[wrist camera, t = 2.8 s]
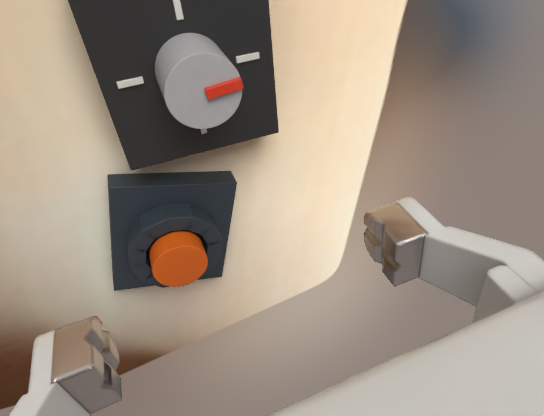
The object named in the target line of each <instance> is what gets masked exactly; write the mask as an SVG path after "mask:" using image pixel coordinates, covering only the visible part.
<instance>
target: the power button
mask: <svg viewBox="0 0 544 416" xmlns="http://www.w3.org/2000/svg"><path fill="white" fill-rule="evenodd" d="M149 256H150V262H151V267H152V273H153V276H154V278H155V279H156V280H157V281H158V282H159V283H161V284H163V285H166V286H175V287H176V286H183V285H187V284H189V283H192V282H194V281H195V280H197V279H198V278H199V277H201V276H202V275H203V273H204V272H205V270H206V268H207V265H208V258H207V255H206V252H205V249H204V246H203V243H202V241H201V239H200V238H199V237H198V236H197V235H195V234H193V233H191V232H187V231H175V232H171V233H168V234H165V235H163V236H162V237H160V238H159V239H157V240H156V241H155V243H154V244H153V245H152V247H151V249H150V254H149Z"/></svg>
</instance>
